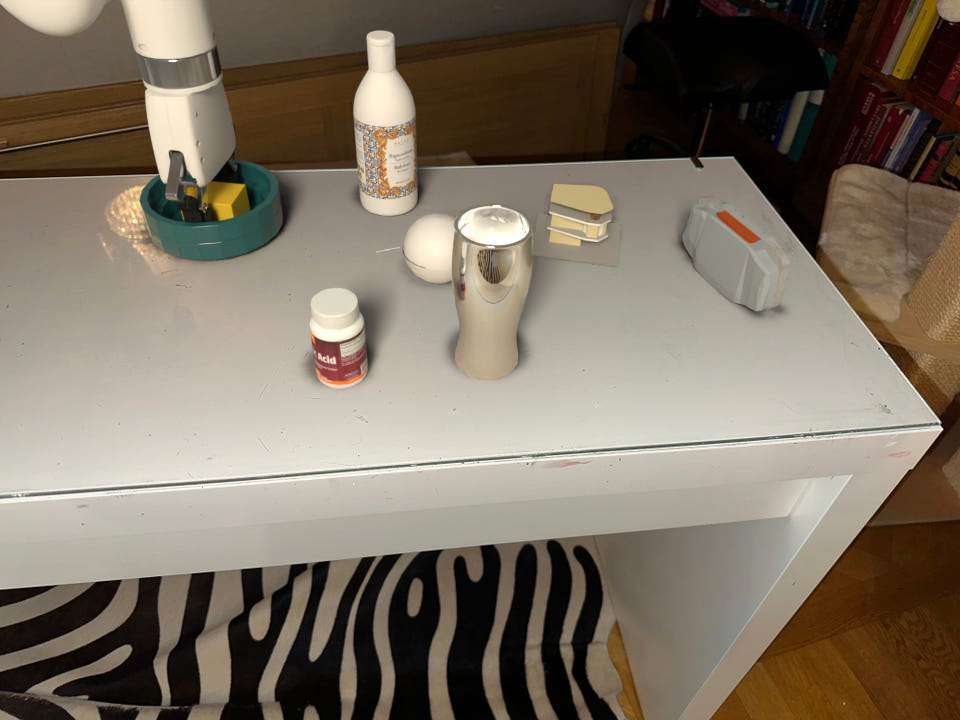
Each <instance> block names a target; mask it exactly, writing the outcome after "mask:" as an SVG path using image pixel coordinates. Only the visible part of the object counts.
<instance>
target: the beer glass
mask: <svg viewBox="0 0 960 720" xmlns="http://www.w3.org/2000/svg"><path fill="white" fill-rule="evenodd" d="M455 218H456V219H455V221H454V234H453V243H452V254H451V279H452V281H451V287H452V294H453V299H454V303H455V308H456V313H457V317H458V324H459V326H458V327H459V334H458V339H457V344H456V347H455V351H454V361H455V364H456V366H457V368H458V369H459V370H460V371H461V372H462V373H464V374H465V375H467V376H469V377H471V378H474V379H477V380H483V381H494V380H498V379H501V378H504V377H507V376H508V375H510V374H511V373H513V371H514V370H516V368H517V366H518V363H519V348H518V342H517V331H518V326H519V323H520V319H521V317H522V314H523V309H524V307H525V305H526V304H525V303H526V302H527V301H526V300H527V297H528V293H529V289H530V286H531V280H532V274H533V273H532V272H533V261H534V256H533V236H534V230H535V228H534V223H533V220H532V218H531V217H530V216H529V215H528V214H526V213H525V212H524V211H522V210H521V209H519V208H516V207H513V206H510V205H507V204H501V203H481V204H477V205H472V206H469V207H467V208H465V209H463V210H462V211H461V212H460V213H458V214H457V215H456V217H455Z"/></svg>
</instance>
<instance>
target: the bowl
mask: <svg viewBox="0 0 960 720" xmlns="http://www.w3.org/2000/svg"><path fill="white" fill-rule="evenodd" d="M235 160H236V162H237V171H236V172H233V173H237V175H238V180H239V184H245V185H246V190H247V195H248V200H249V205H250V210H251V211H248V212H246V213H244V214H241V215H239V216H237V217H234V218H229V219H225V220H221V221H216V222H203V223H190V222H184V220H183V216H182V213H181V211H180V210H179V209H178V207H176V206H175V205H174V204H173V203H172V202H170V201H169V200H168V199H166V197H165V191H166V185H167V184H164V183H163V182H162V180H161V178H160V175H159V174H157V175H156V176H154V177H153V178H150V180H149V181H148V183H147V184H145V186H144V187H143V188H142V189H141V192H140V196H139V204H140V207H141V211H142V215H143V217H144V221H145V224H146V226H147V227H146V228H147V230H148V233H149V236H150V238H151V241H152V243H153V245H155V246H156V247H157V248H159V249H160V250H161V251H163V252H164V253H166V254H169V255H172V256H175V257H178V258H181V259H186V260H187V259H188V260H193V261H203V262H205V261H207V262H208V261H209V262H211V261H221V260H222V261H223V260H229V259H234V258H237V257H240V256H243V255H246V254H248V253H250V252H252V251H255V250H257V249H258V248H260V247H262V246H264V245H265V244H267V243H268V242H269V241H270V240H271V239H273V238H274V237H275V236H276V235H278V233H279V231H280V230H281V228H282V226H283V224H284V211H283V205H282V198H281V193H280V186H279V181H278V179H277V178H276V176H275V175H274V173H273V171H271V170H269V169H268V168H266V167H265V166H263V165H260V164H258V163H255V162H251V161H248V160H243V159H236V158H235ZM185 180H193V181H194V180H196V178H193V177H192V176H191V175H187V174H186V177H185ZM187 188H188V187H187Z"/></svg>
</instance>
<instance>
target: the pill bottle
mask: <svg viewBox="0 0 960 720" xmlns="http://www.w3.org/2000/svg"><path fill="white" fill-rule="evenodd" d="M310 313H311V314H310V315H311V317H310V319H309V324H308V326H309V334H310V340H311V346H312V353H313V361H314V367H315V373H316V376H317V379H318V380H319V381H320V382H321V384H323V385H325V386H326V387H329V388H333V389H348V388H351V387H354V386H356V385H358V384H360V383H362V381H363V380H364V379H365V378H366V377H367V374H368V371H369V364H368V363H369V362H368V351H367V338H366V337H367V336H366V326H365V324H366V323H365V317H364V316H363V314H362V312H361V310H360V307H359V300H358V296H357V295H356V294H355V293H354V292H353V291H351V290H350V289H347V288H343V287H329V288H325V289H322V290H320V291H318V292H317V293H315V294H314V295H313V297H312V298H311V299H310Z"/></svg>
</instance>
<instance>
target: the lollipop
mask: <svg viewBox="0 0 960 720" xmlns="http://www.w3.org/2000/svg"><path fill="white" fill-rule="evenodd" d="M455 219H456V217H455V216H453V215H450V214H448V213H443V212H433V213H428V214H424V215H422V216H421V217H419V218H418V219H417V220H415V221H414V222H413V223H412V224H411V225H410V226H409V228H408V230H407V231H406V233H405V236H404V239H403V245H402V254H403V256H404V260H405V262H406V266H408V268H409V270H410V271H411V272H412V273H413V274H414V275H415V276H416V277H417V278H420V279H421V280H423V281H425V282H427V283H431V284H447V283H450V282H452V279H451V254H452V243H453V234H454V221H455ZM394 249H400V246H398V247H393V248H392V247H391V248H388V249H387V248H386V249H382V250H377V251H376V253H380V252H385V251H390V250H394Z"/></svg>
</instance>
